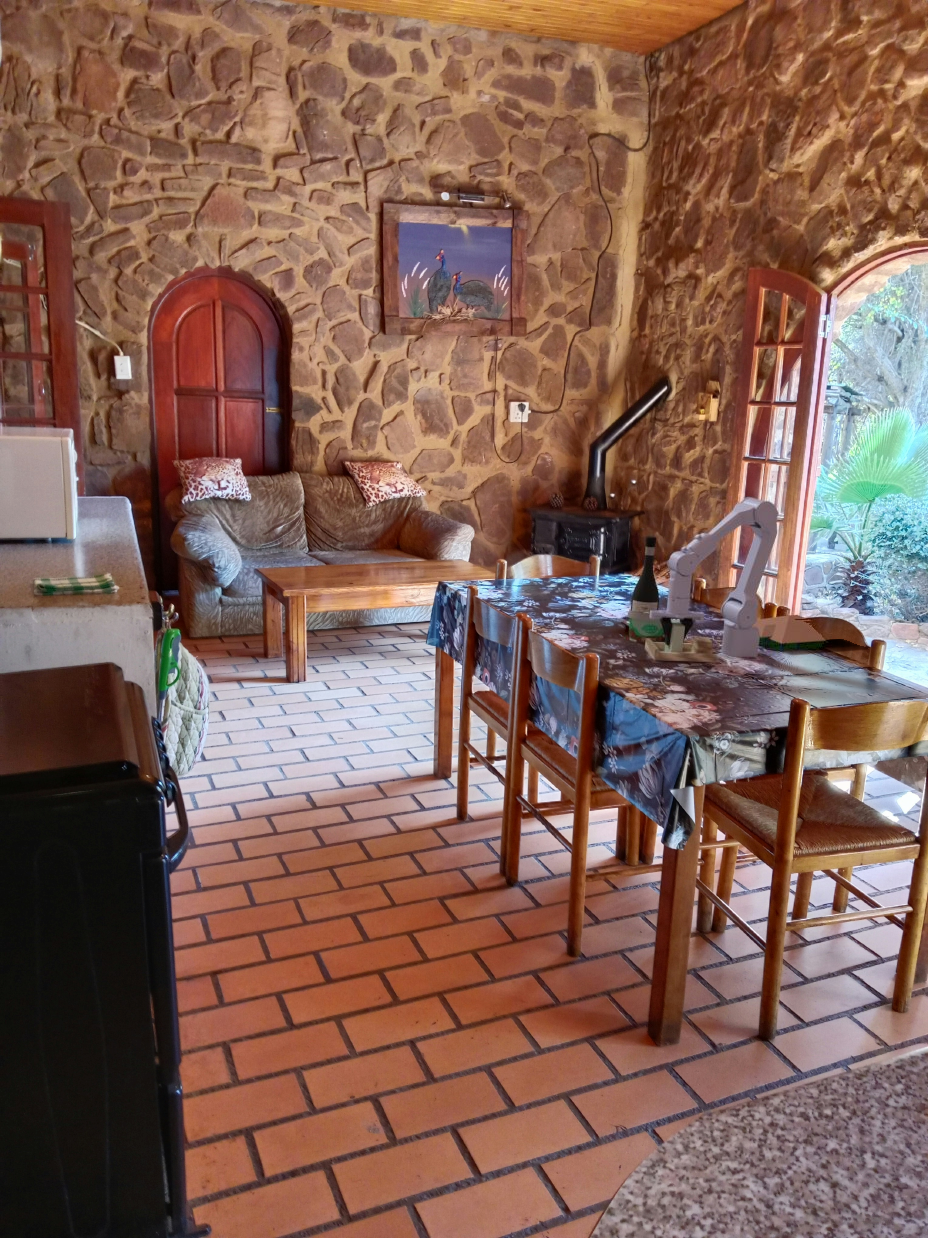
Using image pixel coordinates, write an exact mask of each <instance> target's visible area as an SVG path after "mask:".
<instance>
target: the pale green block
mask: <svg viewBox="0 0 928 1238" xmlns="http://www.w3.org/2000/svg"><path fill="white" fill-rule="evenodd" d="M671 622H672V623H673V625H672V629H671V635H670V645H669V646H668V645H666V644H665V649H664V652H671V653H682V650H683V641H684V642H685V640H684V631H685V626H684V625H683V624H682V623H681V622H680V620H679V619H671Z"/></svg>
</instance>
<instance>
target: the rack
mask: <svg viewBox="0 0 928 1238" xmlns="http://www.w3.org/2000/svg"><path fill="white" fill-rule="evenodd" d="M692 644H694V642H693V643H689V642H684V643H683V650H682V653H671V652H664V649H665V641H661V642H652V641H651V640H650V639H649V638H646V642H645V644H644V650H645V651H646V652H647V653H648V654H649V656H650V657H651V658H652V660H654V661H666V662H667V661H668V662H669V661H670V662H671V661H673V662H703V663H720V661H719V660H718V654H717V653H713V654H702V653H691V652H692Z"/></svg>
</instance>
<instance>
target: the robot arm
mask: <svg viewBox="0 0 928 1238" xmlns="http://www.w3.org/2000/svg"><path fill="white" fill-rule="evenodd" d="M778 517H779V511H778V509H777V507H776V506H775V504H774V503H772V502H771V501H769V500H761V499H758V498H755V497H752V496H747V497H745V498H743V499H742V500H741V501H740V502H738V503H737V504H735V506H734V507H733V509H732V511H730V512H729V513H728V514H727V515H726V516H725V517H724V518H722V520H721V521H720V522H719V523H718V524H716V526H715V527H713V528H712V529H711V530H710V531H709V532H708V533H706V532H702V533H700V534H696V535H695V536H694V539H693V540H692V541H690V542H688V544H687V545H686V546H683V547H681V550H680V551H679V550H677V551H674V552H673V553H672V554H671V555H670V557H669V559H668V560H667V561H666V565H667V567H668V569H669V582H668V584H669V585H668V593H667V603H666V605H667V606H666V610H665V609H661V610H660V609H658V610H650V618H651V619H655V618H657V619H660V622H661V624H662V627H663V636H664V642H665V644H666V645H668V646H669V645H670V635H671V629H672V625H673V623H672V622H671V620H679V621H680V622H681V623H682V624H683V625H684V626H685V631H684V641H683V643H685V639H686V637H687V635H688V634H689V631H690V630H691V628H692V627H693V625H694V620H695V621H702V622H703V621H705V613H704V612H702V611H692V610H691V611H690V610H689V606H690V598H691V597H690V595H691V588H692V587H691V586H692V576H693V574H694V573H696V571H697V570H698V565H699V564H700V563H701V562H702V561H703V560H705V559H706V558H707V557H708V556H709V555H710V554H712V553H713V552H714V551H716V549H717V543H719V542H720V541H721V540H722V539H724V538H725V537H727V536H728V535H730V534H731V533H732V532H734V531H735V530H736V529H737V528H739V527H740V526H749V527H750V528H751V530H752V532H753V534H754V537H753V540H752V541H751V546H750V549H749V550H748V551H749V552H748V554H747V556H746V559H745V562H744V566H743V569H742V571H741V575H740V577H739V580H738V583H737V586H736V588H735V589H734V590H732V591H731V592H730V593H729V595H728V596H727V598H726V600H725V601H724V602H723V603H722V605H721V608H720V614H721V616H722V618H723V622H724V624H723V633H722V642H721V643H722V644H721V650H720V652H721V654H723V655H725V656H728V657H734V658H735V657H736V658H743V657H744V658H746V657H749V658H753V657H755V658H757V657H758V653H759V645H760V643H759V639H760V638H759V630H758V628H757V627H756V626H753V625H754V624H755V622H756V620H758V616H759V615H758V608H759V605H760V603H759V601H758V598H757V593H758V590H759V586H760V584H761V581H762V578H763V575H764V572H765V570H766V567H767V564H768V562H769V558H770V555H771V553H772V550H773V547H774V545H775V542H776V539H777V535H778V524H777V522H778V521H777V520H778Z"/></svg>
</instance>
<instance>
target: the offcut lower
mask: <svg viewBox="0 0 928 1238" xmlns="http://www.w3.org/2000/svg"><path fill="white" fill-rule="evenodd" d="M691 653H702V654H714V650H713V649H712V650H699V649H698V648H697V647H696V646H695V645H694V644H692V652H691Z"/></svg>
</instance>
